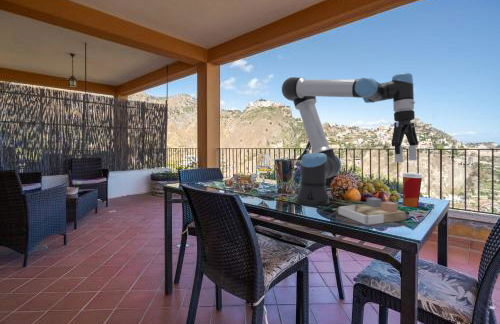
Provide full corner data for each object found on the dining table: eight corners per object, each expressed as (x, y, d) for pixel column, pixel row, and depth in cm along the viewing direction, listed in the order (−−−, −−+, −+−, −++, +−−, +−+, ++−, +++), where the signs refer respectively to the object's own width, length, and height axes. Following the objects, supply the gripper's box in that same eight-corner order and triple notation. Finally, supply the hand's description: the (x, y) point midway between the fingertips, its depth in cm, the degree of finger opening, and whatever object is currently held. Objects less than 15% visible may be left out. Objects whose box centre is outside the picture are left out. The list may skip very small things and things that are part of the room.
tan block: (380, 209, 105) (381, 202, 105) (388, 208, 106) (388, 201, 106) (389, 212, 101) (389, 204, 101) (397, 211, 103) (397, 203, 102)
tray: (338, 213, 109) (338, 206, 109) (353, 212, 112) (354, 205, 112) (366, 225, 95) (366, 216, 95) (383, 222, 98) (383, 214, 98)
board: (353, 212, 112) (354, 205, 112) (374, 210, 116) (374, 203, 116) (383, 222, 98) (383, 214, 98) (405, 219, 102) (405, 212, 102)
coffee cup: (407, 202, 131) (409, 172, 129) (424, 206, 123) (426, 174, 122) (396, 204, 127) (398, 173, 125) (413, 208, 119) (415, 175, 118)
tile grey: (366, 205, 112) (366, 198, 112) (373, 204, 113) (373, 197, 113) (373, 207, 108) (374, 200, 108) (381, 206, 110) (381, 199, 109)
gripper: (400, 107, 103) (402, 162, 103) (425, 111, 118) (427, 159, 119) (380, 110, 109) (383, 163, 109) (407, 114, 124) (409, 159, 125)
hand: (406, 161), depth 114 cm, fingers open, 13 cm apart
